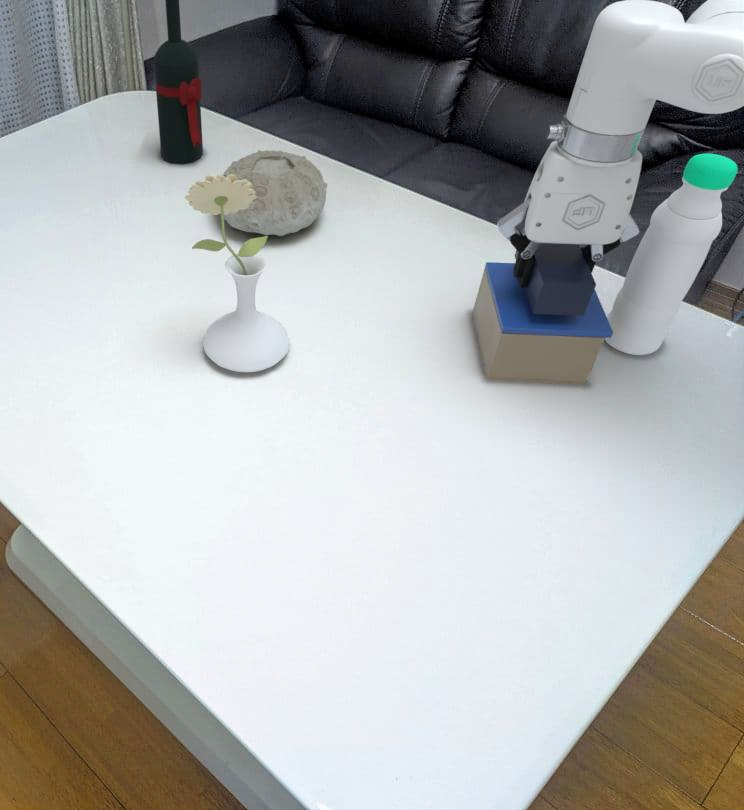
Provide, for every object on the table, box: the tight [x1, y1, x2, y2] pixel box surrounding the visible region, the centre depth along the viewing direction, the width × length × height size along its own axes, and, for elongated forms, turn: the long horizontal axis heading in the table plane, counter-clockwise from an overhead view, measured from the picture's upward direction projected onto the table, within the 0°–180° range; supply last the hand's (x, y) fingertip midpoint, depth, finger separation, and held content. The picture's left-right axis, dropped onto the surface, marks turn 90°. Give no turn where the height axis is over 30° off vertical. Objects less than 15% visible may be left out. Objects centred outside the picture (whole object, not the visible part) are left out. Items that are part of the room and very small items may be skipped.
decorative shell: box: [222, 149, 328, 237], centre depth 117 cm, size 18×18×10 cm
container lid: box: [484, 261, 613, 338], centre depth 90 cm, size 12×14×1 cm
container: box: [471, 268, 605, 386], centre depth 93 cm, size 12×14×8 cm
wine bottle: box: [153, 0, 204, 165], centre depth 127 cm, size 8×10×30 cm
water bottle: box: [604, 153, 739, 356], centre depth 87 cm, size 7×7×25 cm
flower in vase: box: [184, 174, 291, 373], centre depth 89 cm, size 13×11×25 cm
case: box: [514, 225, 597, 316], centre depth 87 cm, size 12×6×4 cm, turn 173°
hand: (548, 280), depth 88 cm, fingers closed on case, 5 cm apart
